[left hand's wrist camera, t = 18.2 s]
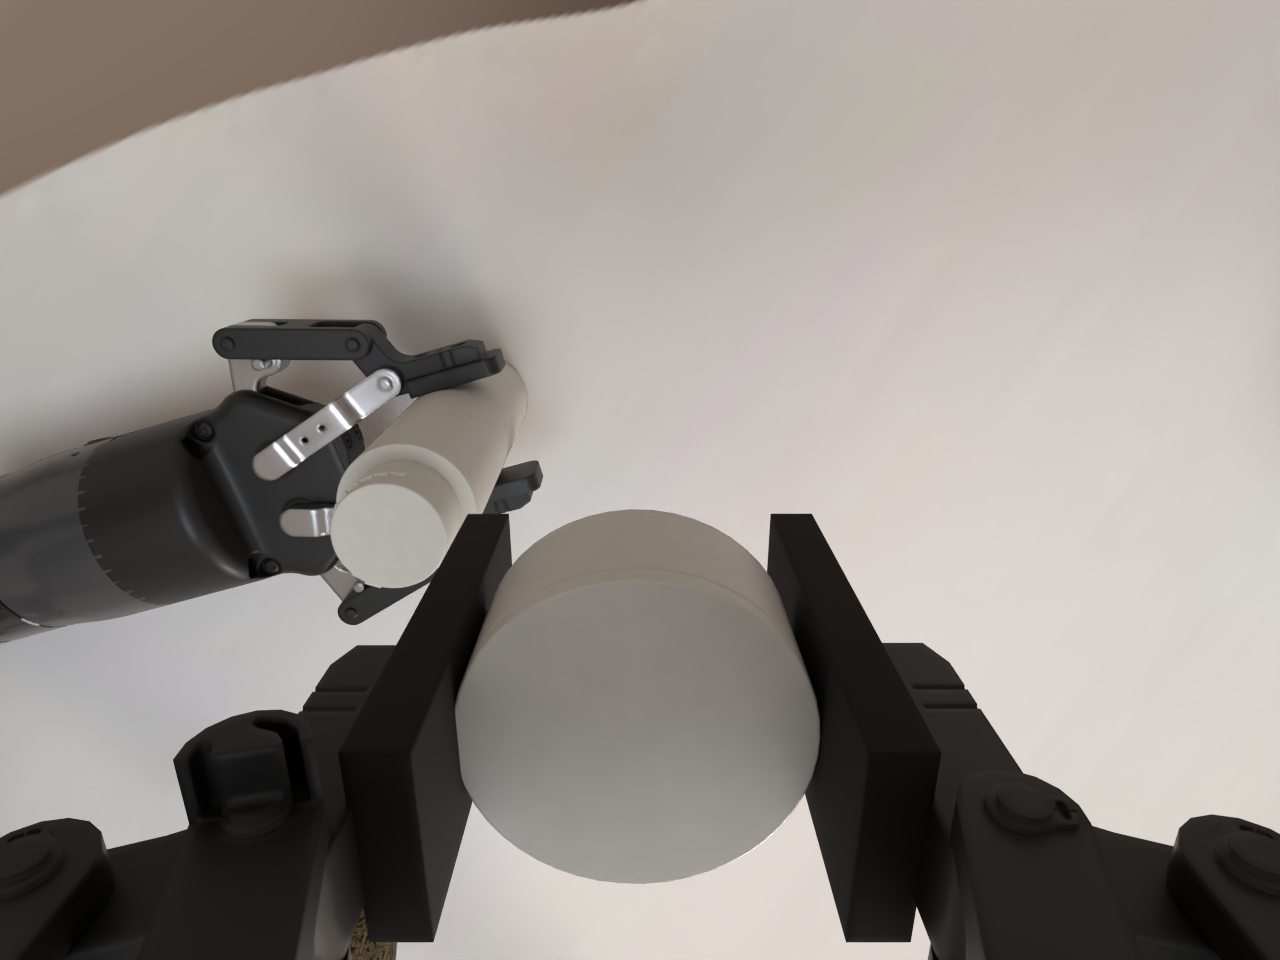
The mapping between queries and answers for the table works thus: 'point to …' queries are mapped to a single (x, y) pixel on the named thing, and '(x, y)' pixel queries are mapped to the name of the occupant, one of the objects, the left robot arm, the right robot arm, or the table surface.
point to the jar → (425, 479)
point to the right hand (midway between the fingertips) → (518, 418)
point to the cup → (370, 945)
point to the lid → (636, 701)
